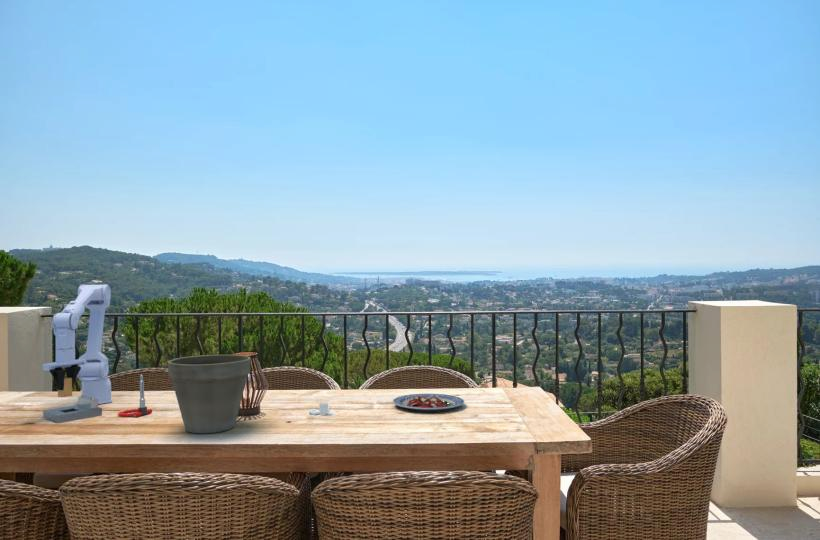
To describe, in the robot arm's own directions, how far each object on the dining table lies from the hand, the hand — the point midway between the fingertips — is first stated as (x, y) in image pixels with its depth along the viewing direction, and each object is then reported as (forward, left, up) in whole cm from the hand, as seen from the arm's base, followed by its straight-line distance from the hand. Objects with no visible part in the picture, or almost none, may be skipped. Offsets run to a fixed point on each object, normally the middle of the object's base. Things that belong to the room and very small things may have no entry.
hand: (65, 388), depth 210 cm
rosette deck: (-2, +1, -10) cm, 10 cm away
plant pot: (-23, +51, -10) cm, 56 cm away
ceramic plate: (-90, +85, -10) cm, 124 cm away
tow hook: (-17, +14, -10) cm, 24 cm away
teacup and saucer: (-59, +63, -10) cm, 86 cm away
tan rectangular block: (0, 0, -2) cm, 2 cm away
